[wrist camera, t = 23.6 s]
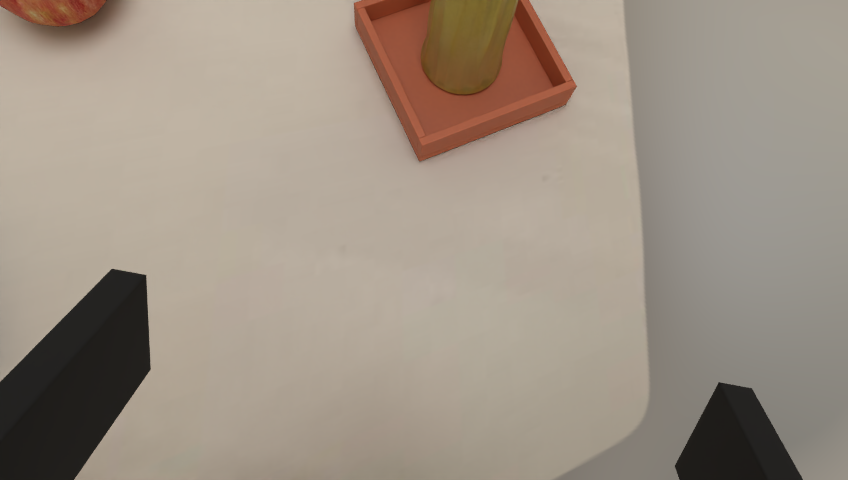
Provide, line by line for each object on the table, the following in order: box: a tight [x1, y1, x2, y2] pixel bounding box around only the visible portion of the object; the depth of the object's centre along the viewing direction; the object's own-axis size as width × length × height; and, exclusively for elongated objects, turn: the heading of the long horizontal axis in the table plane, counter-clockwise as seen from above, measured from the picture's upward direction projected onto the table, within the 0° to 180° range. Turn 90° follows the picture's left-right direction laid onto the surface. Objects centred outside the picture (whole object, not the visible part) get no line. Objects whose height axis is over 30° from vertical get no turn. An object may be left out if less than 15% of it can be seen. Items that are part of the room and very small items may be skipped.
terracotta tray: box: [354, 0, 577, 161], centre depth 47 cm, size 12×12×3 cm
